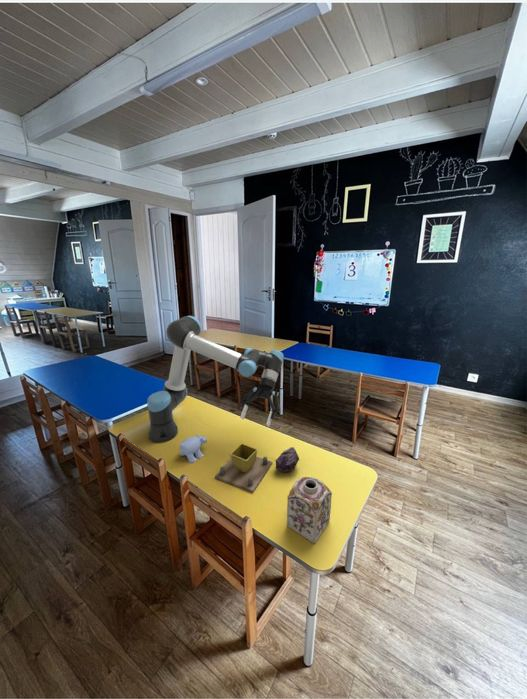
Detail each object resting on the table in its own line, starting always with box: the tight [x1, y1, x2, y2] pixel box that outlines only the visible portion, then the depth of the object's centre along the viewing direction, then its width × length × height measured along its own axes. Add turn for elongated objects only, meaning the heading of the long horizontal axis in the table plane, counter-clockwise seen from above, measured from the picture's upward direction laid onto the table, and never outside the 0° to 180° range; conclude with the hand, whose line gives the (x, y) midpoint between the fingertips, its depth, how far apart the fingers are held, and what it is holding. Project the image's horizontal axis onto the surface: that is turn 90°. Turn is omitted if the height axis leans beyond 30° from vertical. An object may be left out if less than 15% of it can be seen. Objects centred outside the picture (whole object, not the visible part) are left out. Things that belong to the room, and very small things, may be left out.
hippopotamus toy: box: [179, 434, 208, 464], centre depth 137 cm, size 11×15×10 cm
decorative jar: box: [286, 476, 333, 544], centre depth 99 cm, size 12×12×18 cm
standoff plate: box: [214, 456, 273, 494], centre depth 127 cm, size 19×19×4 cm
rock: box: [275, 446, 300, 474], centre depth 128 cm, size 12×9×10 cm
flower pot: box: [230, 443, 258, 473], centre depth 126 cm, size 9×9×9 cm
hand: (254, 422), depth 130 cm, fingers open, 13 cm apart
